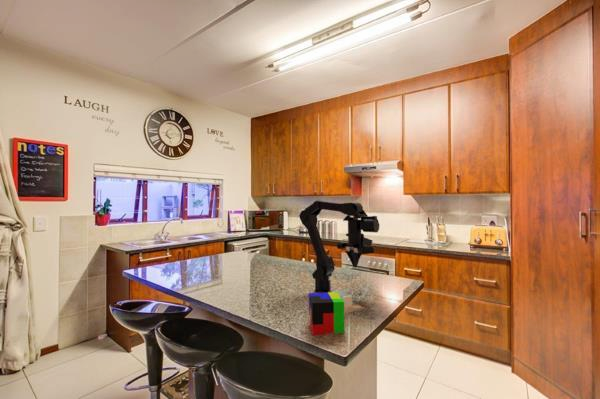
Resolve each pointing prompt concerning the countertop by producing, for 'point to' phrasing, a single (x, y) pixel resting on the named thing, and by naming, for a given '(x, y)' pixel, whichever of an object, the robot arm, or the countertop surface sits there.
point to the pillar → (345, 298)
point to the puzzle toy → (326, 313)
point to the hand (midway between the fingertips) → (355, 267)
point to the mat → (353, 308)
